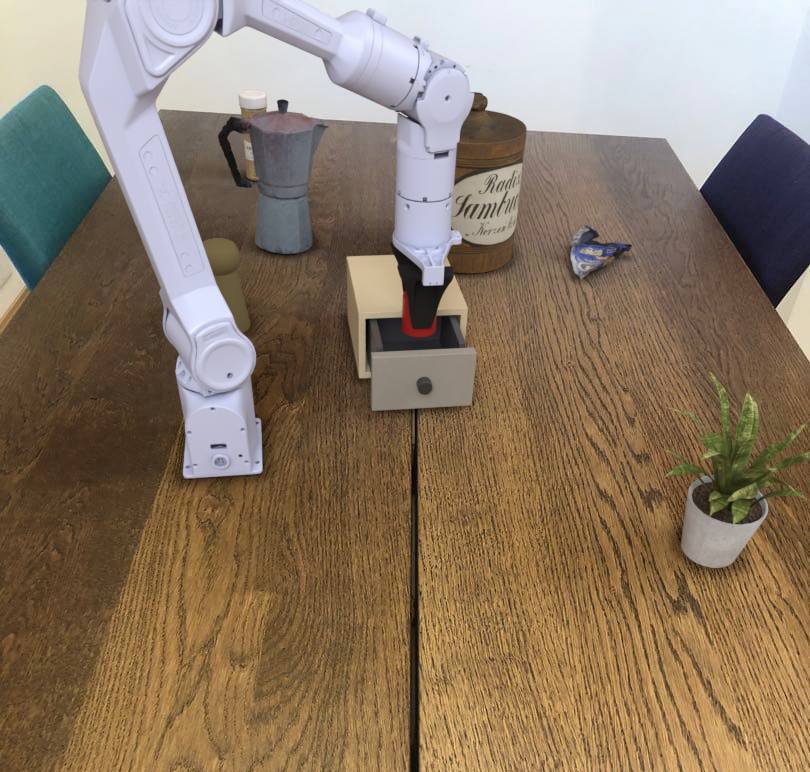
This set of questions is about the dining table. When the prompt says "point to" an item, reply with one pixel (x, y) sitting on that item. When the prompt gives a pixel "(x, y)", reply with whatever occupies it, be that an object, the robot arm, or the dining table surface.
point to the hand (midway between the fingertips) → (418, 317)
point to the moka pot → (279, 174)
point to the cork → (228, 277)
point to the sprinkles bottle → (249, 106)
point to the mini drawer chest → (386, 300)
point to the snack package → (593, 251)
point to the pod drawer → (419, 366)
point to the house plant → (730, 486)
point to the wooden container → (486, 188)
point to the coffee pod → (407, 324)
